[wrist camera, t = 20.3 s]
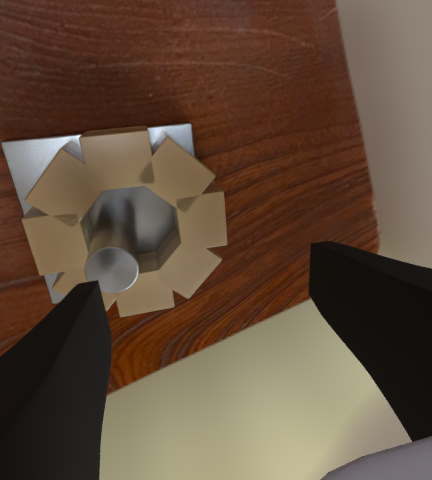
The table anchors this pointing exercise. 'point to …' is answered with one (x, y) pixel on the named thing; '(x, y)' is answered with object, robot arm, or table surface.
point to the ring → (116, 177)
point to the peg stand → (103, 209)
